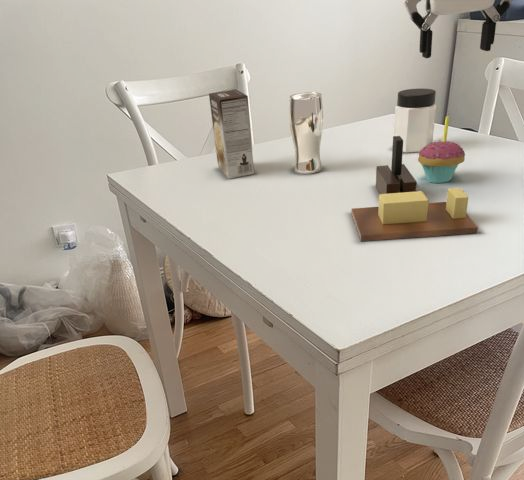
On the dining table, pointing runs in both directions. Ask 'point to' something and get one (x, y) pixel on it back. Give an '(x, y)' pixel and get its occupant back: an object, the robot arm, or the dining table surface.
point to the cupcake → (441, 158)
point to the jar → (415, 118)
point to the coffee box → (232, 133)
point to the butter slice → (456, 203)
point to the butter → (403, 207)
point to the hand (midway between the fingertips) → (455, 53)
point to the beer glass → (306, 130)
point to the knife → (397, 157)
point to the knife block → (394, 180)
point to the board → (411, 224)
